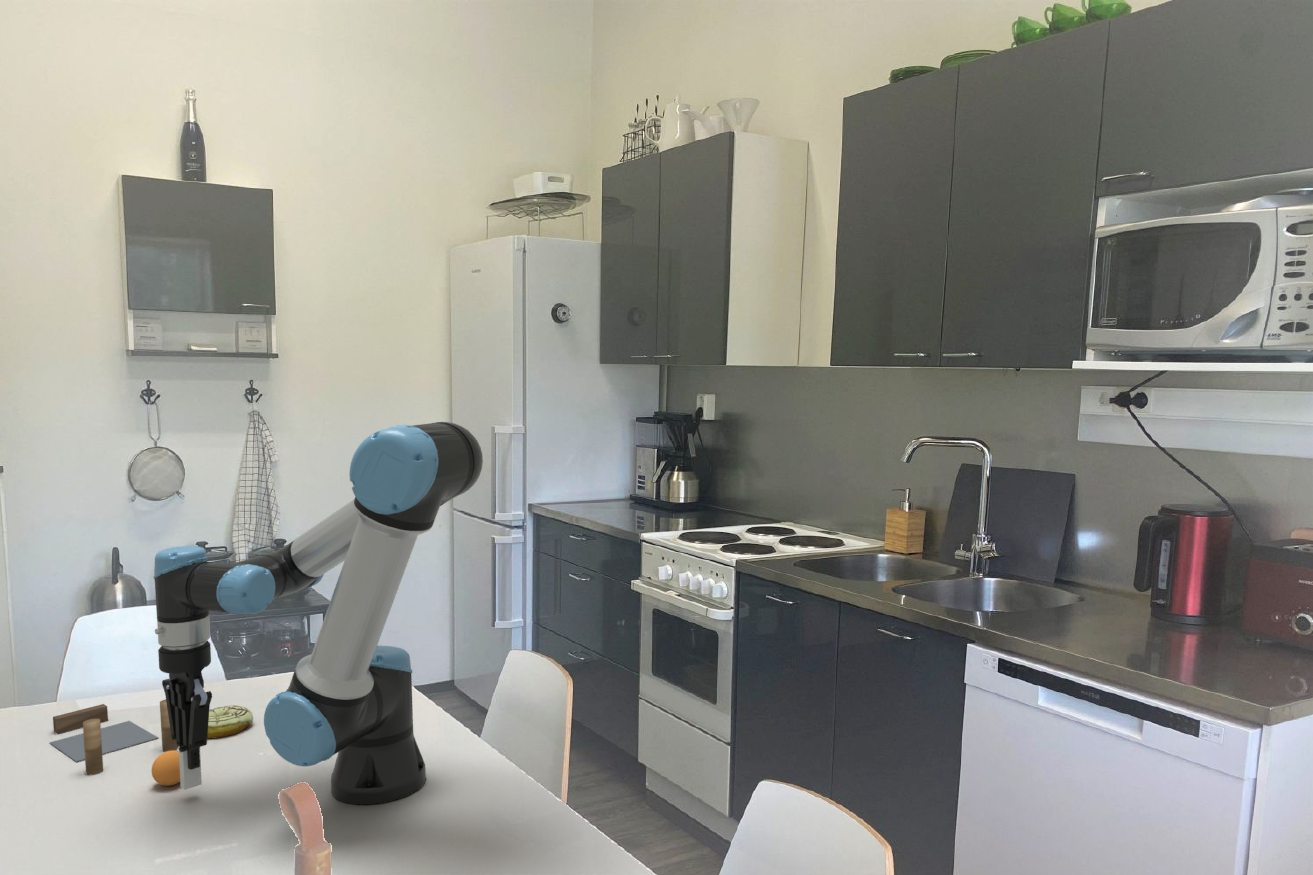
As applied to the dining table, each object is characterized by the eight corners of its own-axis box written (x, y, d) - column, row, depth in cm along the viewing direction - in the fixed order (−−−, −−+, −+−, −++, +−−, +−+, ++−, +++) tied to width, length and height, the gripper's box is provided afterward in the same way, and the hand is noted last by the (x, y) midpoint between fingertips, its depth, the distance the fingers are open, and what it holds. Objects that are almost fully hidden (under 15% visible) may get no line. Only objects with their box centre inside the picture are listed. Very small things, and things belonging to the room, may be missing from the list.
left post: (105, 770, 166) (102, 720, 165) (89, 775, 164) (85, 725, 163) (100, 767, 167) (96, 717, 167) (83, 772, 165) (80, 721, 165)
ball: (195, 782, 160) (193, 750, 160) (160, 794, 156) (158, 761, 156) (181, 774, 164) (179, 742, 163) (146, 785, 160) (145, 752, 159)
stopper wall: (108, 720, 190) (107, 706, 190) (57, 734, 183) (56, 719, 183) (104, 718, 191) (103, 703, 191) (53, 731, 185) (52, 716, 184)
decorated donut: (264, 725, 187) (263, 707, 186) (215, 744, 177) (214, 725, 177) (229, 716, 192) (228, 698, 191) (180, 735, 182) (179, 715, 182)
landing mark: (158, 738, 180) (158, 737, 180) (76, 762, 170) (76, 761, 170) (129, 721, 189) (129, 720, 189) (49, 743, 179) (49, 742, 179)
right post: (180, 748, 175) (177, 700, 175) (165, 752, 173) (163, 704, 173) (174, 744, 177) (172, 697, 176) (160, 749, 175) (157, 701, 174)
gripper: (143, 641, 154) (150, 782, 156) (178, 656, 145) (185, 805, 147) (190, 631, 160) (196, 767, 161) (226, 645, 151) (232, 789, 153)
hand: (191, 785), depth 154 cm, fingers closed
